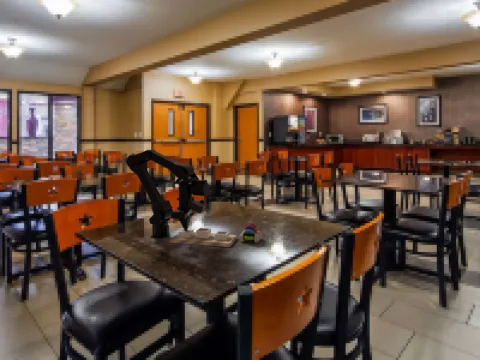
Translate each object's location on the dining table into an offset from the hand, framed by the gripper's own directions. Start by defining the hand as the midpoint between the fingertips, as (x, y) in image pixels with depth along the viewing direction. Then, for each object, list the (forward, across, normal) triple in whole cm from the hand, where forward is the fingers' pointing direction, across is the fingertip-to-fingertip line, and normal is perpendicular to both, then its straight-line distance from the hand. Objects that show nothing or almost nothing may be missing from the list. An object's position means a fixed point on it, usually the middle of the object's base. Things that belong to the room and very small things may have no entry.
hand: (186, 230), depth 149 cm
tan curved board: (+4, 0, -8) cm, 9 cm away
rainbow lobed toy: (+4, +5, -28) cm, 28 cm away
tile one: (+3, 0, 0) cm, 3 cm away
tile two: (+2, 0, -8) cm, 8 cm away
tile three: (+3, 0, -16) cm, 16 cm away
